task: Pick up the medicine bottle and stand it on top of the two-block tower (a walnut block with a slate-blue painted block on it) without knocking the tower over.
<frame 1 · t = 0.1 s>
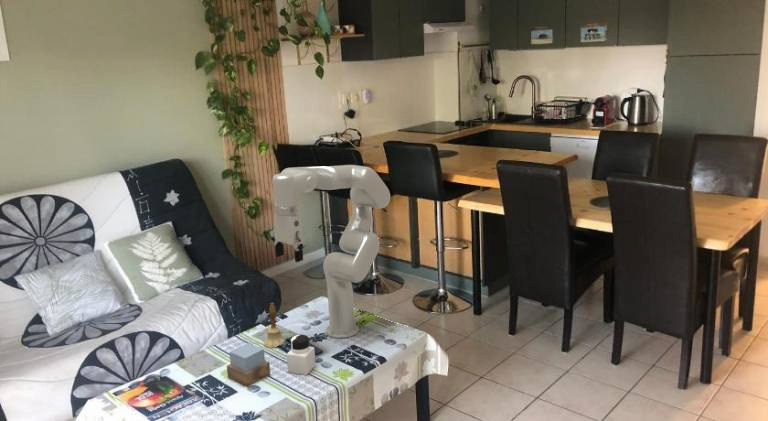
hand: (289, 258, 226), 37 cm above the table, tool pointing down, fingers open, 9 cm apart
block base: (249, 377, 222), on the table, touching block top
block top: (248, 364, 220), point 5 cm above the table, touching block base
hand bell: (274, 343, 245), on the table
medicine bottle: (302, 369, 225), on the table
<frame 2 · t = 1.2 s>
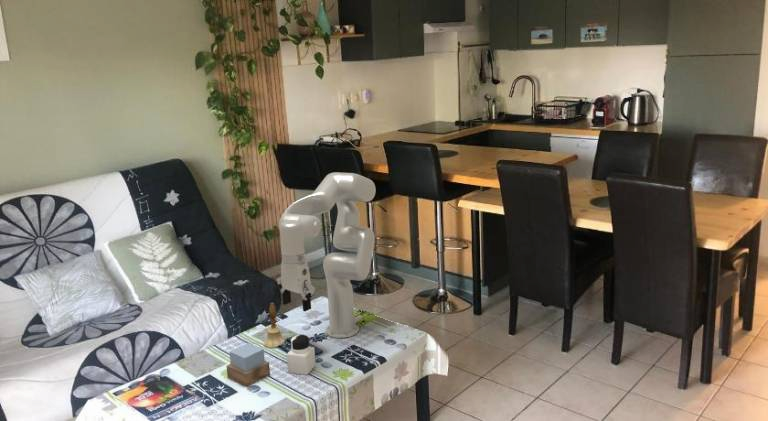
hand: (296, 306, 219), 23 cm above the table, tool pointing down, fingers open, 9 cm apart
nothing on the table moved.
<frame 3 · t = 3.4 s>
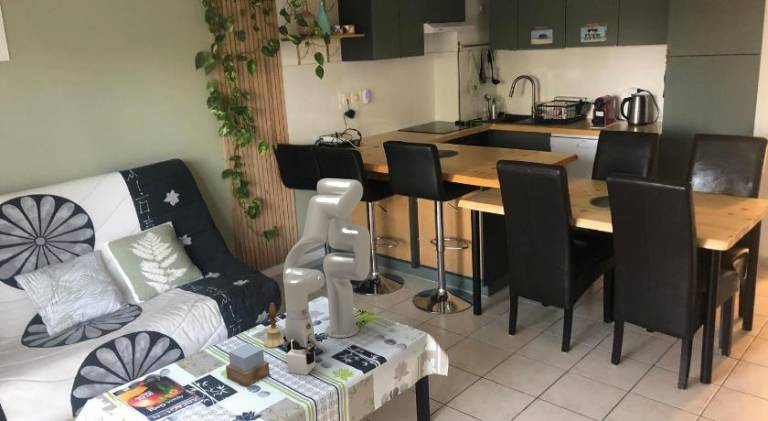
hand: (300, 359, 224), 4 cm above the table, tool pointing down, fingers closed on medicine bottle, 8 cm apart
medicine bottle: (302, 369, 225), on the table, touching gripper
everything else where it was.
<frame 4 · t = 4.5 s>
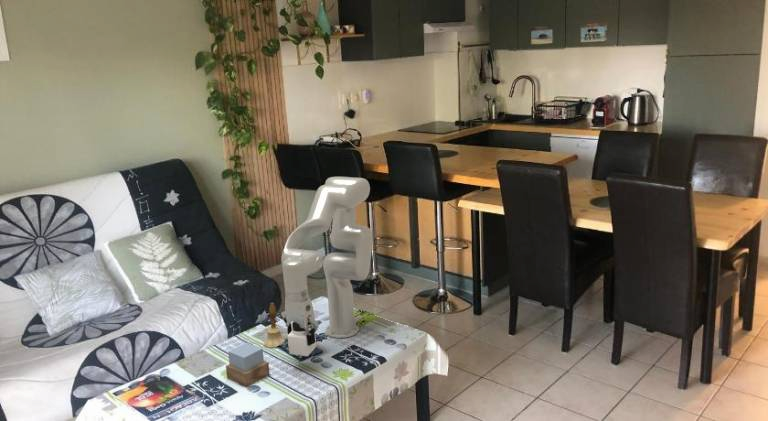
hand: (301, 340, 223), 10 cm above the table, tool pointing down, fingers closed on medicine bottle, 8 cm apart
block base: (248, 377, 221), on the table
block top: (246, 363, 220), point 5 cm above the table
medicine bottle: (303, 350, 225), point 6 cm above the table, touching gripper
everything else where it was.
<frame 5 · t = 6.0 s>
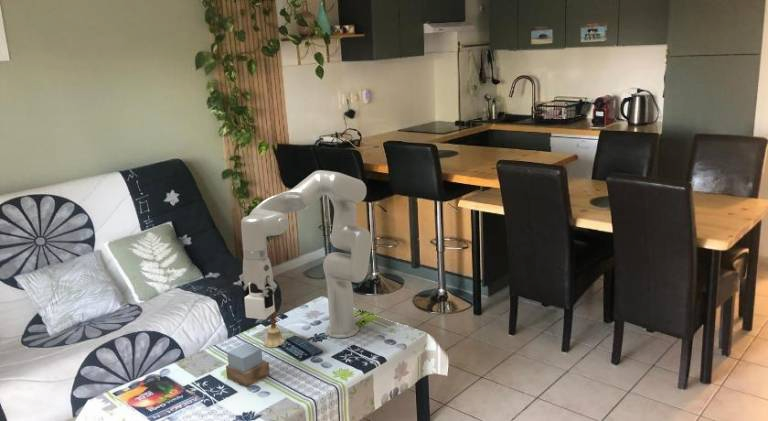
hand: (259, 303, 216), 26 cm above the table, tool pointing down, fingers closed on medicine bottle, 8 cm apart
block base: (248, 377, 221), on the table, touching block top
block top: (245, 364, 220), point 5 cm above the table, touching block base
medicine bottle: (260, 315, 217), point 22 cm above the table, touching gripper
everything else where it was.
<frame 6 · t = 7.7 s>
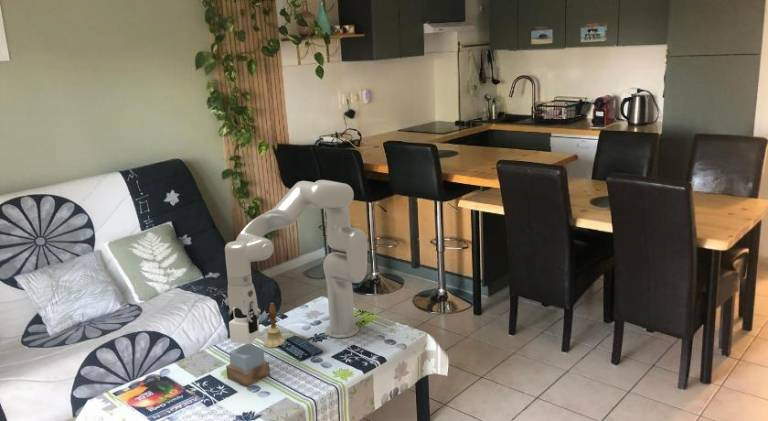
hand: (244, 328, 217), 18 cm above the table, tool pointing down, fingers closed on medicine bottle, 8 cm apart
medicine bottle: (245, 339, 218), point 14 cm above the table, touching gripper
when the fingers open (14 cm above the table, at t = 9.0 s): medicine bottle stays where it is, resting on block top.
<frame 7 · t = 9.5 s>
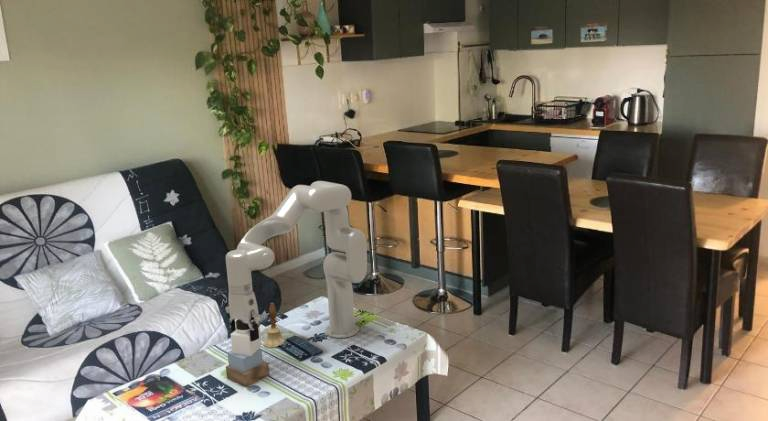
hand: (245, 336, 218), 15 cm above the table, tool pointing down, fingers open, 9 cm apart
block top: (245, 364, 220), point 5 cm above the table, touching block base, medicine bottle
medicine bottle: (247, 350, 219), point 9 cm above the table, touching block top, gripper
everything else where it was.
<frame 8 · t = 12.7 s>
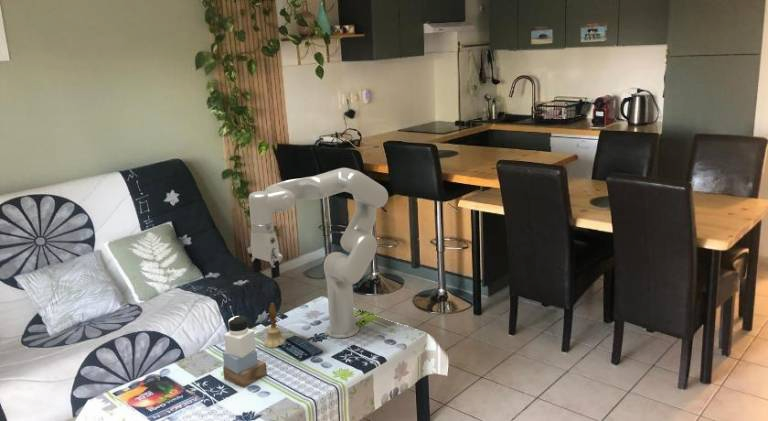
hand: (266, 274, 229), 30 cm above the table, tool pointing down, fingers open, 9 cm apart
block top: (241, 365, 219), point 5 cm above the table, touching block base, medicine bottle
medicine bottle: (241, 352, 218), point 9 cm above the table, touching block top
at the end: medicine bottle inside the target area on the block top (0.4 cm from its centre), point 4.8 cm above the block top's base; medicine bottle tilted 1°; block top 1.2 cm off-centre on the block base, point 5.0 cm above the block base's base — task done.
